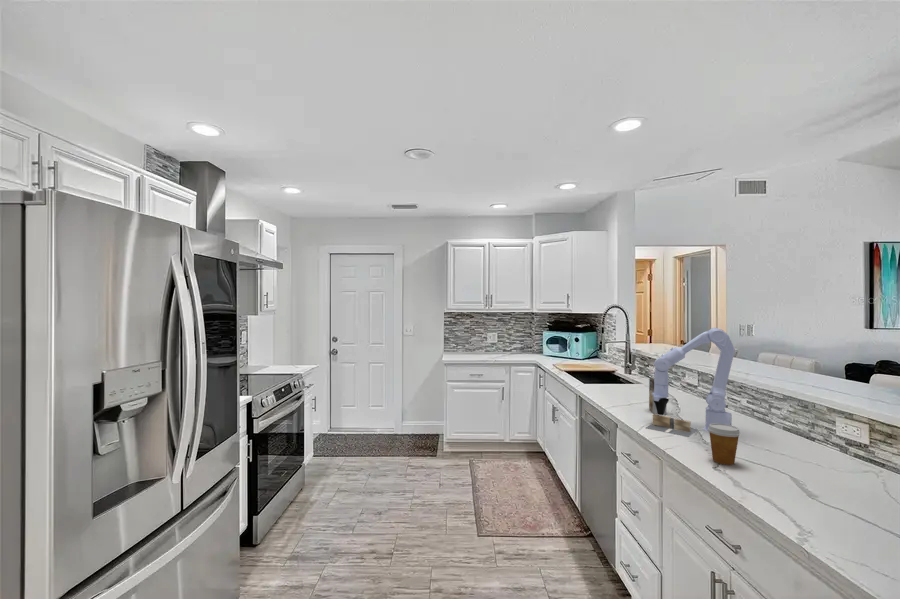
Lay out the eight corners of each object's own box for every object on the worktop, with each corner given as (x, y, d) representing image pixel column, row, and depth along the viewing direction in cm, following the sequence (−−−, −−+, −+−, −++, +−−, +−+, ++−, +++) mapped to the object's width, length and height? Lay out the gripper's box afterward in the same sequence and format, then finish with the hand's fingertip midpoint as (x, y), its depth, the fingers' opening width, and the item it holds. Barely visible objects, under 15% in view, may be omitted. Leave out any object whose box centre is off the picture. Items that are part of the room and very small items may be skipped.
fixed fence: (690, 431, 180) (690, 421, 180) (689, 432, 179) (689, 422, 179) (675, 428, 184) (675, 418, 184) (674, 429, 183) (674, 419, 183)
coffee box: (648, 409, 220) (648, 378, 220) (661, 410, 218) (662, 379, 218) (653, 414, 211) (653, 381, 211) (667, 415, 209) (667, 382, 209)
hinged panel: (674, 427, 184) (674, 417, 184) (673, 428, 183) (673, 418, 183) (653, 423, 190) (653, 414, 190) (652, 424, 189) (652, 414, 189)
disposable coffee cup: (737, 459, 150) (737, 425, 150) (742, 468, 141) (743, 432, 141) (705, 455, 154) (706, 421, 154) (709, 463, 145) (709, 428, 145)
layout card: (697, 430, 184) (697, 429, 184) (688, 438, 173) (688, 436, 173) (655, 422, 195) (655, 421, 195) (644, 429, 184) (644, 428, 184)
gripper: (656, 381, 201) (656, 410, 201) (646, 385, 190) (645, 415, 190) (673, 383, 196) (672, 413, 196) (663, 387, 185) (662, 419, 185)
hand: (660, 414), depth 193 cm, fingers closed
